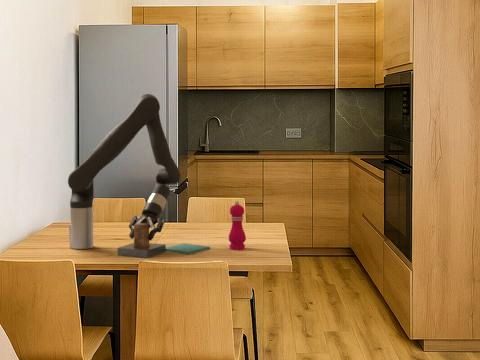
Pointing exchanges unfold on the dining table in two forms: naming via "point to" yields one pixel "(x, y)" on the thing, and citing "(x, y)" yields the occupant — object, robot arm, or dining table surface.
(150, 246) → the socket block
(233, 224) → the pepper mill
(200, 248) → the teal mat
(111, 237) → the dining table surface
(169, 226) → the dining table surface
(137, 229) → the walnut peg
